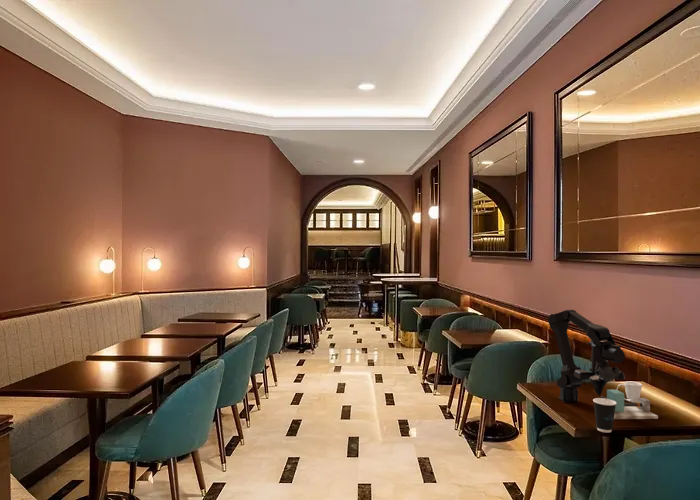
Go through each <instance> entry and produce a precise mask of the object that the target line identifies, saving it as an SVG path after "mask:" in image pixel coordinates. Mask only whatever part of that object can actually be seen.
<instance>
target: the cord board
mask: <svg viewBox="0 0 700 500" xmlns="http://www.w3.org/2000/svg"><path fill="white" fill-rule="evenodd" d="M600 398H605V399H607V397H605V396H604V395H600ZM653 419H654V420H658V419H659V415H657V414H655V413H653V412H651V400H649V399H647V398H645V397H639V398H638V402H624V412H615V414H614V420H653Z"/></svg>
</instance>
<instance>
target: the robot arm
mask: <svg viewBox="0 0 700 500" xmlns="http://www.w3.org/2000/svg"><path fill="white" fill-rule="evenodd" d="M570 322H571V323H573V324H574V325H575V326H577V327H578V328H580V329H581V330H582V331H584V332H585V334H586V337H588V338H589V340H590V341H589V342H587V346H591V358H589V362H590V363H591V367H590V368H589V371H587V370H585V369H582V368H581V367H580V366H577V364H575V359H574V356H573V351H572V348H571V344H570V340H569V335H568V329H569V327H570V325H569V323H570ZM547 323H548V326H549V327H550V330H551V331H552V332H553V333H554V334H555V339H556V342H557V346H558V350H559V355H560V359H561V363H562V367H561V369H560V377H559V378H558V379H557V381H556V385H557V387H558V388H559V396H558V398H557V399H559V400H560V401H562V402H563V403H567V404H568V403H569V404H570V403H573V404H574V403H579V402H580V401H579V391H578V388H581V386H582V383H583V380H587V381H588V380H590V382H591V384H592V386H593V389H594V391H595V394H596V395H597V396H602V393H603V391H604V387H605V386H606V385H607V384H608V383H609V382H611V381H614V380H615V379H617V380H625V373H624V372H623V371H621V370H620V368H618V367H617V366H613V367H612V366H611V367H610V362H612V363H615V364H620V363H622V362H624V360H625V356H626V355H625V352H624V350H623V349H622V347H621V345H616V342H615V339H614V338H613V336H612V333H611V332H610V329H609V328H608V327H606V326H603V325H601V324H596V323H594V322H592V321H590V320H589V319H588V318H586V317H584V316H583V315H582V314H580V313H579V312H578V311H576V310H575V309H565V310H563V311H560V312H557V313H550V315H549V316H548V318H547Z"/></svg>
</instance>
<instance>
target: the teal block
mask: <svg viewBox="0 0 700 500" xmlns="http://www.w3.org/2000/svg"><path fill="white" fill-rule="evenodd" d="M606 398H607V399H610V400H613V401H615V402H616V403H617V404H616V407H615V412H624V403H625V399H624V398H625V393H624V392H622V391H619V390H617V389H606Z"/></svg>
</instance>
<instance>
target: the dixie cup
mask: <svg viewBox="0 0 700 500" xmlns="http://www.w3.org/2000/svg"><path fill="white" fill-rule="evenodd" d="M605 398H606V397H604V398H601V397H596V398H593V399H592V401H593V404H594V405H593V408H594V415H595V425H596V429H597V431H599V432H601V433H612V431H613V427H614V420H615V419H614V414H615V407H616V404H617V403H616V402H615V401H613V400H610V399H605Z"/></svg>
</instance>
